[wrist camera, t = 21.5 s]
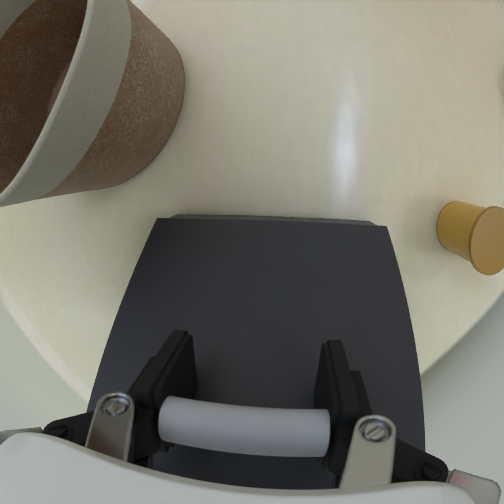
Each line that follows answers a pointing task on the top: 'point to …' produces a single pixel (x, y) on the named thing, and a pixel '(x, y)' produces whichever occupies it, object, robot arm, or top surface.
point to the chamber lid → (265, 342)
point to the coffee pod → (474, 234)
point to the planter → (81, 95)
